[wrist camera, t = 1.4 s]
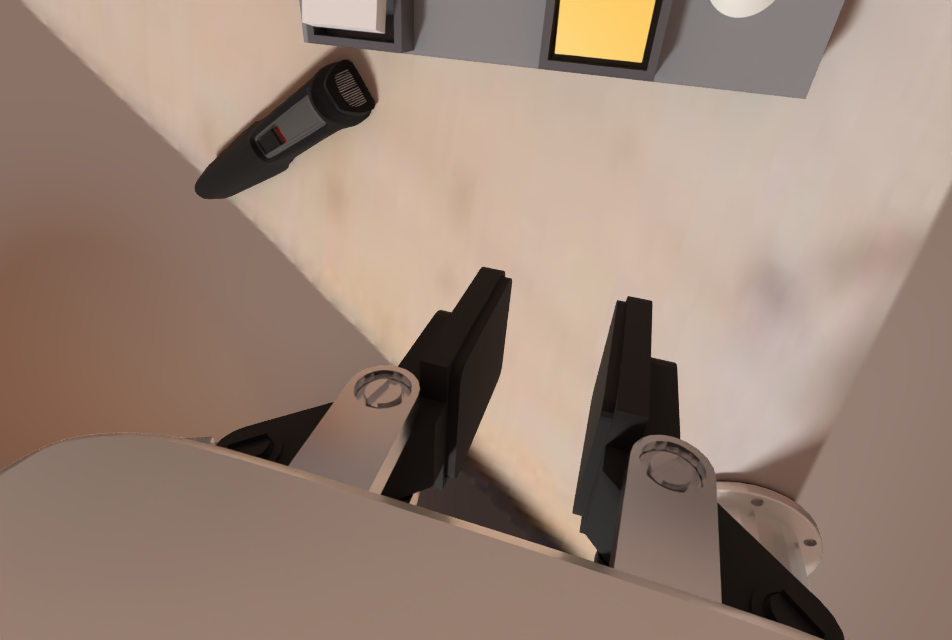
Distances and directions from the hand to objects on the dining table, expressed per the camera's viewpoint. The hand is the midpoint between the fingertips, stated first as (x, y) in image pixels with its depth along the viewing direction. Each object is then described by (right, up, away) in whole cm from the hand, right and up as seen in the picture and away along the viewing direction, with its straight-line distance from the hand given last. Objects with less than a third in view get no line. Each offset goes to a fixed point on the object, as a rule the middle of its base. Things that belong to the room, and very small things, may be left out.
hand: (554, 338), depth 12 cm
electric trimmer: (-15, +13, +24) cm, 31 cm away
